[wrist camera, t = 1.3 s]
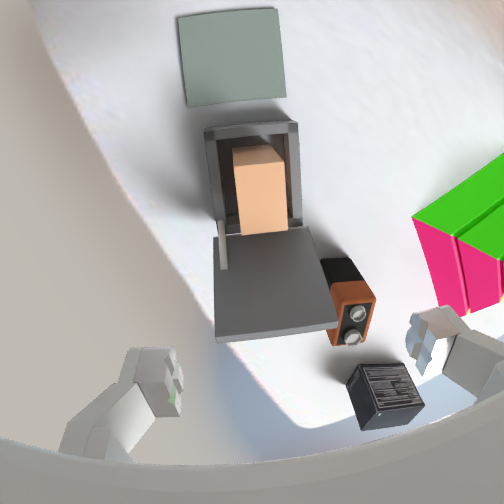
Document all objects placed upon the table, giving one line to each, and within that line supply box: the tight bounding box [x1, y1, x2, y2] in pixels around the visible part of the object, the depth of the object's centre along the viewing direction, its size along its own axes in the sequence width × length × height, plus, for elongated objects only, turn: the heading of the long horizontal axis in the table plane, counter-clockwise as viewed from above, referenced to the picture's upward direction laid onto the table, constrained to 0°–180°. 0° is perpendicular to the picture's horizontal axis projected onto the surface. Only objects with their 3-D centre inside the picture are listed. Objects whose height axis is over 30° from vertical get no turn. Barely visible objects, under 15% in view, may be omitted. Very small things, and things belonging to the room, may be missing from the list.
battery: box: [320, 258, 376, 347], centre depth 37 cm, size 4×7×10 cm, turn 0°
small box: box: [346, 364, 425, 431], centre depth 48 cm, size 11×6×10 cm, turn 78°
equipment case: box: [204, 120, 339, 343], centre depth 28 cm, size 15×10×15 cm, turn 5°
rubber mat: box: [178, 9, 286, 108], centre depth 27 cm, size 10×10×1 cm
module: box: [232, 144, 288, 235], centre depth 30 cm, size 6×4×9 cm, turn 5°
